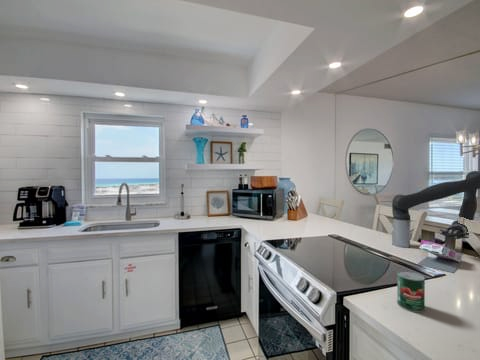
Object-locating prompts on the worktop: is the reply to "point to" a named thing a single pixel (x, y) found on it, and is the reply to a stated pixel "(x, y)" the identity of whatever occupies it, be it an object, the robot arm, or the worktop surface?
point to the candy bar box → (441, 251)
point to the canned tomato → (411, 291)
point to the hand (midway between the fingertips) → (450, 236)
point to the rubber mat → (439, 264)
